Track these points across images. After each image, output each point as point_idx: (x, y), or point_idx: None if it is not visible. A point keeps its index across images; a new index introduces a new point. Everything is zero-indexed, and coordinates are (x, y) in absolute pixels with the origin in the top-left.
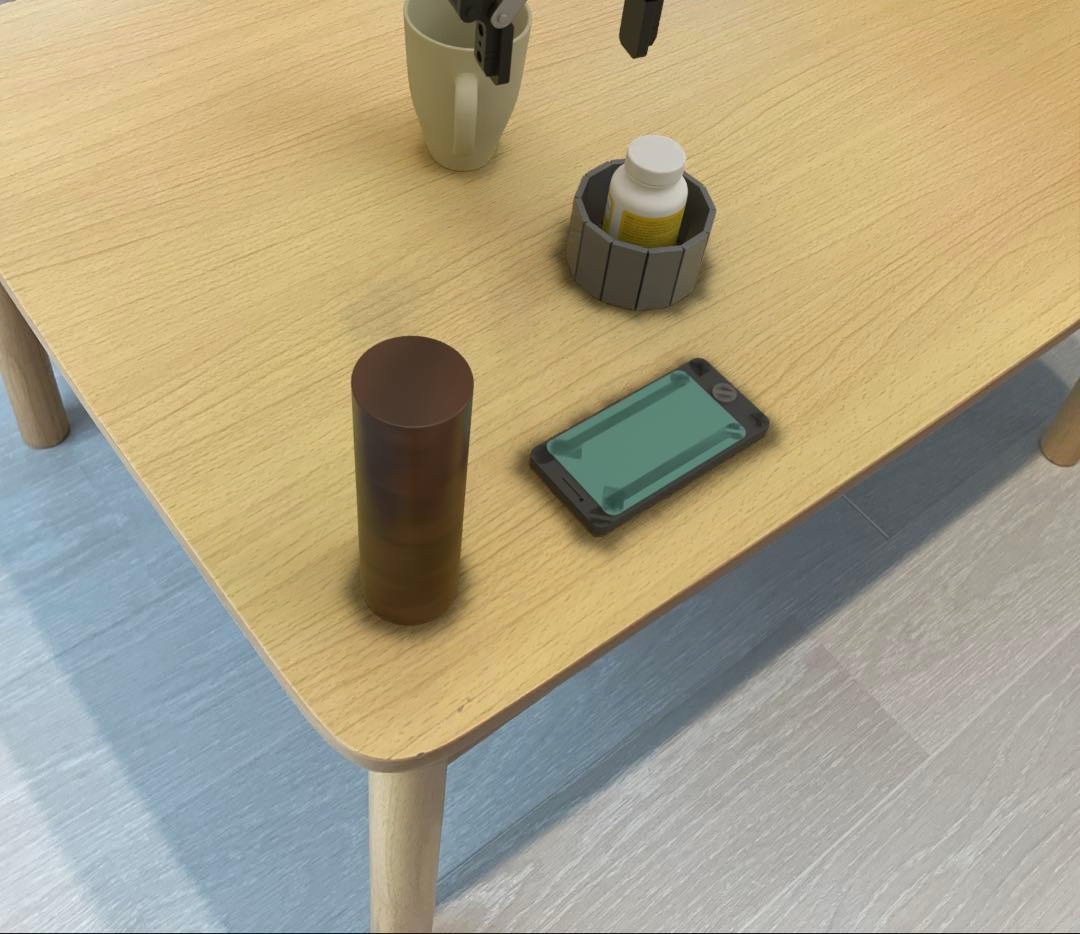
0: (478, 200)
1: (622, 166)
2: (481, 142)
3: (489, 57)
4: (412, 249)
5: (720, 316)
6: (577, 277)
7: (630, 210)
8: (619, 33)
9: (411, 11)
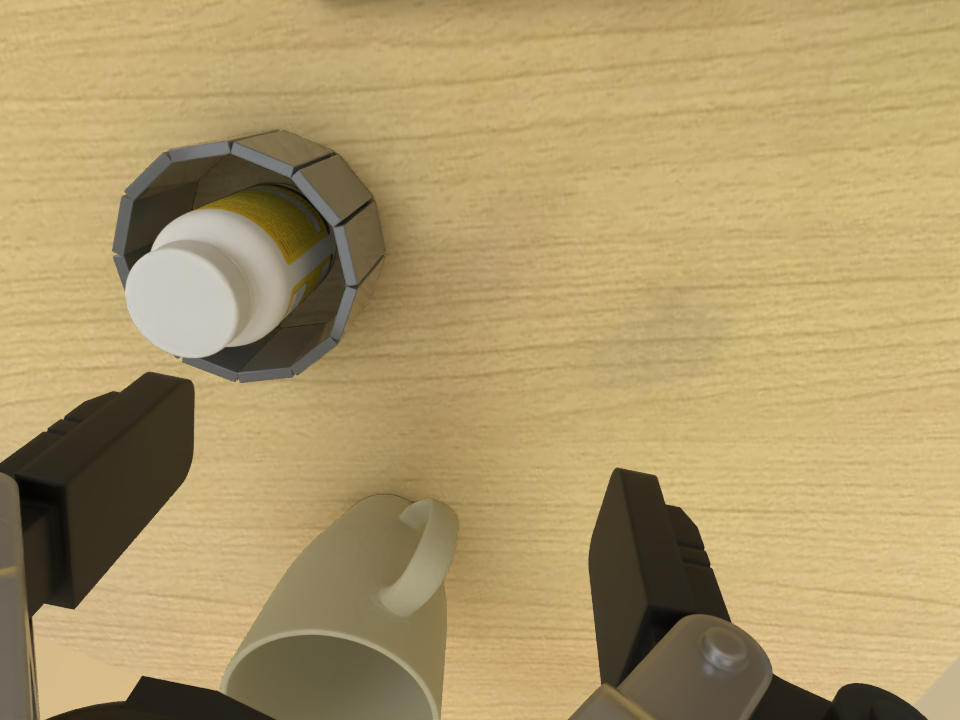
0: (419, 447)
1: (241, 338)
2: (382, 517)
3: (689, 551)
4: (554, 418)
5: (215, 66)
6: (382, 250)
7: (279, 253)
8: (181, 482)
9: None
